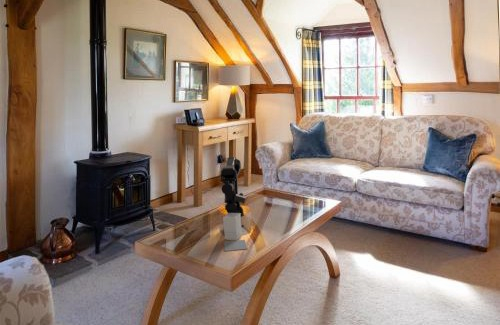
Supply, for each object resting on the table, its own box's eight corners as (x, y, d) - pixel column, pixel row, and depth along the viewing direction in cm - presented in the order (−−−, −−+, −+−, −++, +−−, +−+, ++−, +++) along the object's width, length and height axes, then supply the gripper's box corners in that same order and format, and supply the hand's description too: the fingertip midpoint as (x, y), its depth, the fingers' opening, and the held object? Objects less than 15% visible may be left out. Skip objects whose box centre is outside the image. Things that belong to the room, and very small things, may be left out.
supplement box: (242, 235, 218) (241, 213, 215) (237, 240, 211) (235, 218, 208) (230, 233, 221) (228, 212, 218) (224, 239, 214) (222, 217, 211)
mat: (223, 242, 210) (223, 241, 210) (244, 240, 211) (244, 239, 211) (224, 251, 196) (224, 250, 196) (247, 249, 197) (247, 248, 197)
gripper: (245, 193, 209) (247, 222, 211) (243, 186, 228) (244, 213, 230) (224, 194, 208) (225, 223, 211) (223, 187, 227) (225, 214, 229)
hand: (231, 218), depth 220 cm, fingers closed
